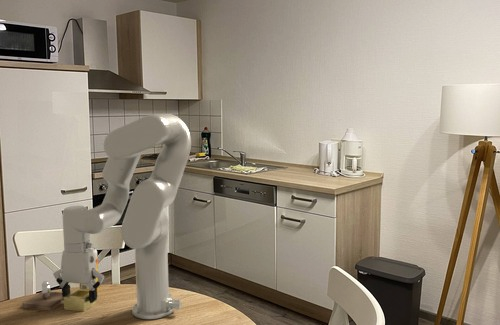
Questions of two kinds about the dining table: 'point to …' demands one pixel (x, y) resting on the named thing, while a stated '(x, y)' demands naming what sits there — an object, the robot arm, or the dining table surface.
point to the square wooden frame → (78, 300)
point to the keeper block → (44, 299)
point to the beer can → (85, 286)
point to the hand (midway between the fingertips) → (79, 299)
